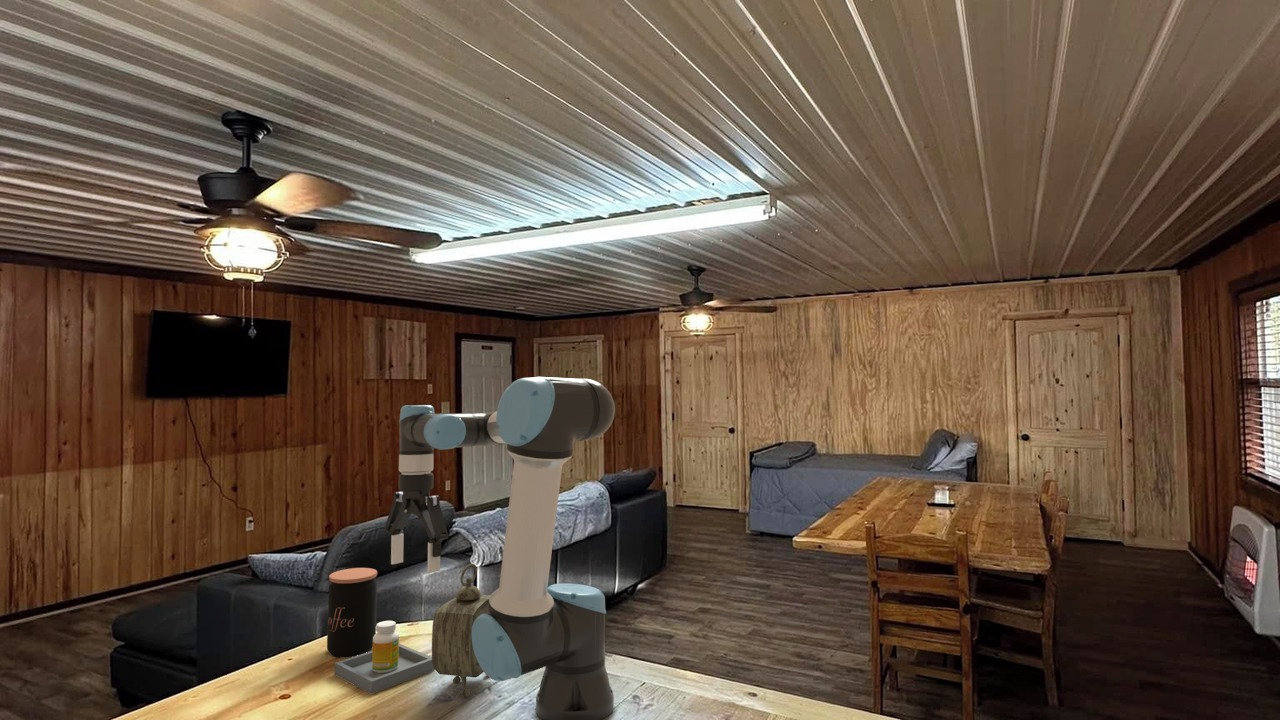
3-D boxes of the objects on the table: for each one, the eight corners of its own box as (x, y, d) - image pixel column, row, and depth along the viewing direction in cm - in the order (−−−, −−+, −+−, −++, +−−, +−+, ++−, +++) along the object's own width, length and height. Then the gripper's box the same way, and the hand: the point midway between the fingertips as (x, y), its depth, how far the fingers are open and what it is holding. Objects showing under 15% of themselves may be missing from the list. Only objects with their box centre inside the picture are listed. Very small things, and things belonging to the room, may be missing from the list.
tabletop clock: (469, 703, 130) (471, 574, 131) (427, 698, 131) (430, 572, 133) (499, 672, 144) (501, 557, 145) (461, 669, 146) (463, 555, 147)
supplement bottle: (395, 672, 142) (396, 627, 142) (369, 674, 141) (370, 628, 141) (400, 662, 147) (401, 618, 147) (375, 664, 146) (376, 620, 147)
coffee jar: (317, 652, 155) (319, 574, 156) (359, 638, 164) (361, 565, 165) (342, 662, 149) (345, 582, 150) (384, 647, 158) (386, 572, 159)
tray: (434, 670, 145) (435, 658, 145) (371, 694, 133) (371, 681, 133) (396, 653, 154) (397, 642, 154) (334, 674, 142) (334, 662, 143)
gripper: (465, 474, 145) (464, 571, 144) (398, 468, 160) (396, 556, 159) (437, 477, 139) (435, 579, 138) (370, 471, 154) (368, 562, 153)
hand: (414, 567), depth 148 cm, fingers open, 13 cm apart
